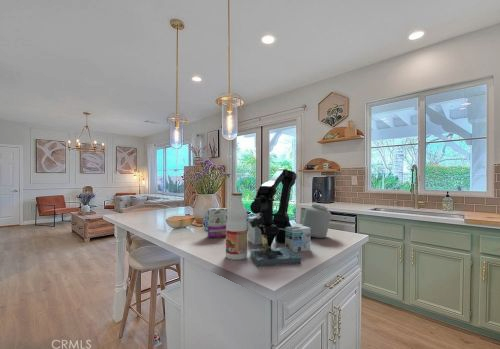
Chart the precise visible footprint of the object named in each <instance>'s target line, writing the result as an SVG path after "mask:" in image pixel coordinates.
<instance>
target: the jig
mask: <svg viewBox="0 0 500 349" xmlns="http://www.w3.org/2000/svg"><path fill="white" fill-rule="evenodd" d="M250 256H251V258H252V260H253V262H254V263H255V265H256V266H257V267H258V268H259V267H271V266H272V267H273V266H287V265H288V266H289V265H300V264H302V257H301V256H300V255H299V254H298V253H297V252H294V251H293V250H291V249H290V248H289V247H285V246H284V247H271V248H267V249H262V248H253V249H252V248H251V249H250Z"/></svg>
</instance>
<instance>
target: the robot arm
mask: <svg viewBox="0 0 500 349" xmlns="http://www.w3.org/2000/svg"><path fill="white" fill-rule="evenodd" d="M296 180H297V173H296V172H295V171H292V170H289V169H287V168H277V170H276V172H275V173H274V174H273V176H272V177H270V179H269V180H268V181H265V182H264V183H262V184H261V185H260V186H259V188H258V190H257V193H256V195H255V197H254V199H253V201H252V202H251V203H250V207H249V208H250V211H251V212H252V214H257V215H258V214H259V215H258V216H254V217H255V218H252V219H250V220H249V222H250V225H251V227H252V228H254V227H256V226H258V228H259V229H260V230H261V233H262V235H263V234H266V236H267V242H268V246H269V247H270V246H271V247H272V244H273V243H274V241H275V242H277V244H285V228H286V227H292V226H293V225H292V224H291V223H290V217H289V213H288V210H289V205H290V204H289V203H290V197H291V191H292V187H294V185H295V184H296ZM280 183H281V184H282V188H281V193H280V200H279V203H278V204H279V205H278V210H277V212H274V202H275V199H274V197H275V196H276V193H277V187H278V186H279V185H280Z"/></svg>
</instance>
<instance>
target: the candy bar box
mask: <svg viewBox="0 0 500 349" xmlns="http://www.w3.org/2000/svg"><path fill="white" fill-rule="evenodd" d="M227 209H228V207H227V208H226V207H216V208H213V207H212V208H211V207H210V208H207V238H208V239H211V238H212V239H214V238H215V239H216V238H226V223H227V215H226V212H227Z"/></svg>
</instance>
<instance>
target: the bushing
mask: <svg viewBox="0 0 500 349" xmlns="http://www.w3.org/2000/svg"><path fill="white" fill-rule="evenodd" d="M267 248H272V245H271V246H270V247H269V246H268V242H267V236H266V234H263V235H262V244H261V249H267Z"/></svg>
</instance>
